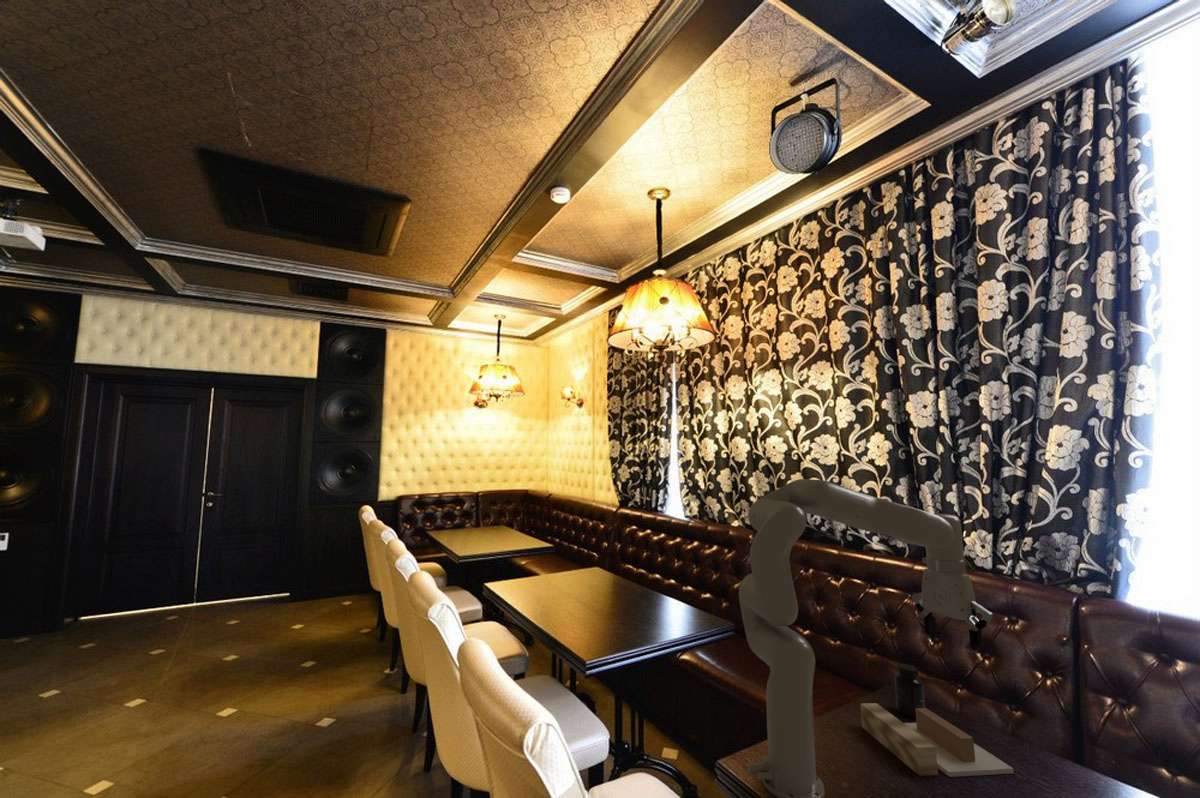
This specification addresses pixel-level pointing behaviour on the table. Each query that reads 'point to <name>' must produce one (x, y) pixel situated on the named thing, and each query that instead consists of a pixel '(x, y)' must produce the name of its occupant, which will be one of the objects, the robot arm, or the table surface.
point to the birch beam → (899, 739)
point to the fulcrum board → (966, 768)
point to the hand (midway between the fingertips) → (952, 640)
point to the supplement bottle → (908, 690)
